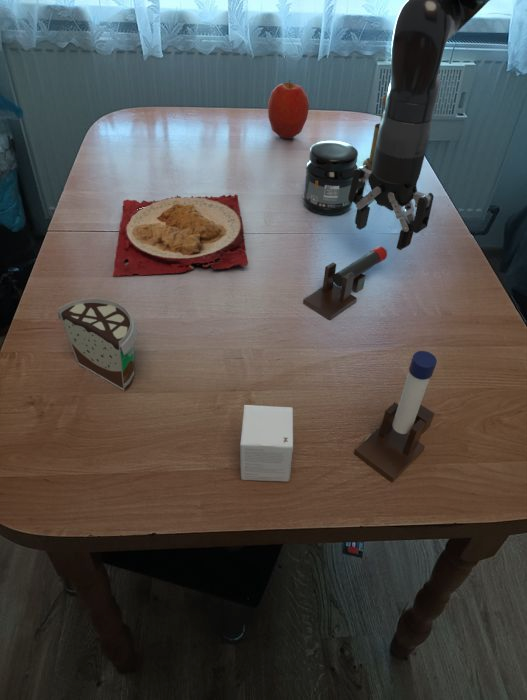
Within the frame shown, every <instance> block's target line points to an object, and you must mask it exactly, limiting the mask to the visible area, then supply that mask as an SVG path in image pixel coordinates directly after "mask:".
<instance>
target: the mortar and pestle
mask: <svg viewBox="0 0 527 700" xmlns="http://www.w3.org/2000/svg"><path fill="white" fill-rule="evenodd" d="M386 99H387V93H385V94H384V95H383V96H382V98H381V104H382V108H383V110H384V109H385V104H386ZM383 114H384V111H383V112H382V113H381V114H380V121H381V120H382V117H383ZM380 123H381V122H379V123H376V124H375V125H374V129H373V136H372V141H371V148H370V152H369V157H368V158H367V159H365V160H364V161H363V162H362V166H364V165H367V166H368V168H369V170H370V171H372V163H373V158H374V152H375V147H376V142H377V135H378V131H379V127H380Z"/></svg>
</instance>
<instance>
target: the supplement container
mask: <svg viewBox="0 0 527 700" xmlns="http://www.w3.org/2000/svg"><path fill="white" fill-rule="evenodd" d="M358 152H359V151H358V150H357V148H355V147H354V146H353V145H351V144H349V143H347V142H343V141H338V140H325V141H324V140H323V141H318V142H316V143H313V144H312V145H311V147H310V148H309V160H307V162H306V164H305V170H306V171H305V181H304V191H303V199H302V200H303V203H304V205H305V206H306V208H307V209H309V210H310V211H311V212H313V213H316V214H320V215H322V216H323V215H324V216H337V215H341V214H344V213H346V212H347V211H350V209H351V207H352V205H353V202H350V201H349V199H348V197H349V192H350V188H351V183H352V179H353V174H354V171H355V170H356V169H358V168H359V167H358V165H357V162H358V157H359V155H358V154H359V153H358Z"/></svg>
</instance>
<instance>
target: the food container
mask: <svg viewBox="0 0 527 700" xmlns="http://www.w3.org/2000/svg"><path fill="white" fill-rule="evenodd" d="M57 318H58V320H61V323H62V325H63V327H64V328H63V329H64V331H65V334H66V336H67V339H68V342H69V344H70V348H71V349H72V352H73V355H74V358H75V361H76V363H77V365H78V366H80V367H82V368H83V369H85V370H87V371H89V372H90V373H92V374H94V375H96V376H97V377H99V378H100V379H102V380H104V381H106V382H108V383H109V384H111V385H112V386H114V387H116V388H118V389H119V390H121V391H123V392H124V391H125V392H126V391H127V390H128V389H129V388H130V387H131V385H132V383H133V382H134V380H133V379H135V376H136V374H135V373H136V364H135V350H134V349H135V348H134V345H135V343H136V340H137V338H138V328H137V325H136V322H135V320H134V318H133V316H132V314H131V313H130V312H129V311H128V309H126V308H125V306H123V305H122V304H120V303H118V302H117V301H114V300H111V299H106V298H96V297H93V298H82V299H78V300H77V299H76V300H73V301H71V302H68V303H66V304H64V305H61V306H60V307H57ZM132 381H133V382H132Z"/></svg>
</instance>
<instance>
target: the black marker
mask: <svg viewBox="0 0 527 700" xmlns="http://www.w3.org/2000/svg"><path fill="white" fill-rule="evenodd" d="M387 257H388V252H387V249H386V248H385V247H383V246H380V245H378V246H376V247H374V248H373V249H371V250H370V251H369V252H367V253H366V254H364V255H363V256H361V257H360V258H358V259H356V260H355V261H353V262H351V263H350V264H348V265H347V266H345V267H343V268H342V269H340V270H339V271H337V272H335V274H334V275H333V281H334V283H333V284H334V285H336V286H337V287H339V288H342V283H343V277H344V276H346V275H347V274H349V273H350V272H351V273H353V274H355V275H354V278H356V277H357V276H359V275H360V274H364V273H365V272H366V271H368V270H370V269H371V268H373V267H374V266H376V265H378V264H380V263H382V262H383V261H385V260H386V259H387Z"/></svg>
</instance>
